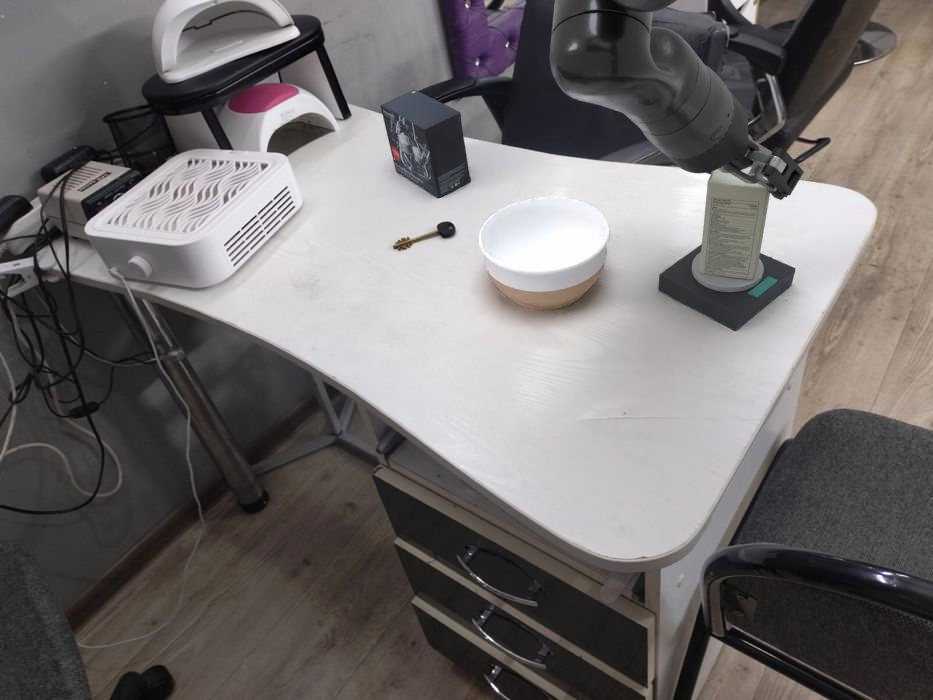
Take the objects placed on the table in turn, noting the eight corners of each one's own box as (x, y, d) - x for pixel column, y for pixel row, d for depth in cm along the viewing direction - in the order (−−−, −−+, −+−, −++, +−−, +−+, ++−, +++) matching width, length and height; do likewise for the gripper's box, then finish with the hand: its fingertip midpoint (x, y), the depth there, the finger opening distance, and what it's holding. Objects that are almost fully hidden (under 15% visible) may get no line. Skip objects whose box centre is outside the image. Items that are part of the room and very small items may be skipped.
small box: (393, 171, 115) (377, 103, 107) (426, 156, 117) (413, 87, 109) (437, 199, 106) (424, 127, 98) (472, 182, 109) (462, 110, 101)
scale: (791, 285, 82) (797, 262, 79) (735, 331, 78) (739, 308, 75) (713, 250, 89) (716, 228, 86) (658, 290, 84) (659, 268, 82)
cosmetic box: (759, 260, 81) (778, 167, 72) (753, 282, 78) (772, 188, 70) (703, 251, 83) (715, 161, 75) (695, 272, 81) (707, 181, 72)
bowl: (558, 342, 80) (555, 289, 75) (459, 293, 89) (451, 243, 84) (634, 271, 88) (636, 219, 82) (536, 233, 96) (533, 184, 91)
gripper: (785, 96, 56) (830, 165, 68) (648, 60, 65) (710, 127, 77) (737, 180, 58) (790, 233, 70) (609, 134, 66) (676, 188, 79)
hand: (748, 177), depth 74 cm, fingers open, 8 cm apart
